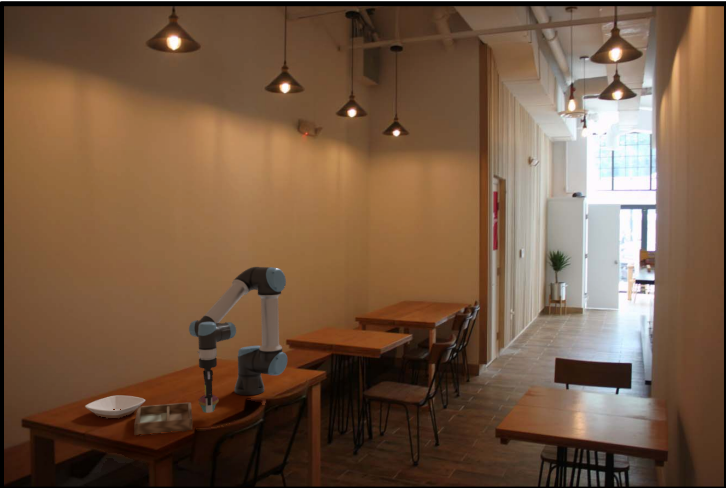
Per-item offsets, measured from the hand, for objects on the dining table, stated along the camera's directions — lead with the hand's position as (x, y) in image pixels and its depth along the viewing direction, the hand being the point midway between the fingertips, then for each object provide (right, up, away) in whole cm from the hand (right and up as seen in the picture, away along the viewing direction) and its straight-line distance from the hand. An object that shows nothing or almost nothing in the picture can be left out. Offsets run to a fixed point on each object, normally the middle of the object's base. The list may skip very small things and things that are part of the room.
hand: (208, 408), depth 255 cm
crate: (-17, -5, -6) cm, 19 cm away
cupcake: (0, -1, 0) cm, 1 cm away
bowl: (-44, -5, +7) cm, 44 cm away
